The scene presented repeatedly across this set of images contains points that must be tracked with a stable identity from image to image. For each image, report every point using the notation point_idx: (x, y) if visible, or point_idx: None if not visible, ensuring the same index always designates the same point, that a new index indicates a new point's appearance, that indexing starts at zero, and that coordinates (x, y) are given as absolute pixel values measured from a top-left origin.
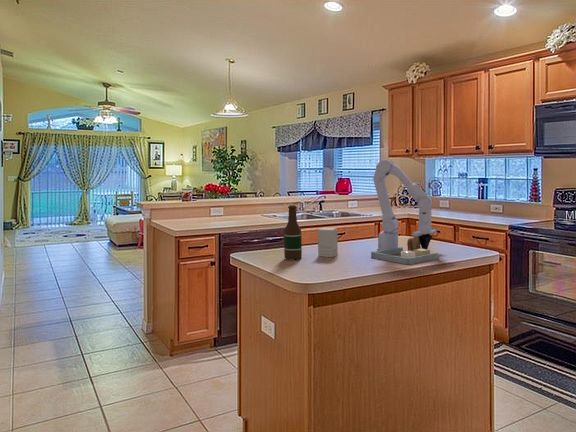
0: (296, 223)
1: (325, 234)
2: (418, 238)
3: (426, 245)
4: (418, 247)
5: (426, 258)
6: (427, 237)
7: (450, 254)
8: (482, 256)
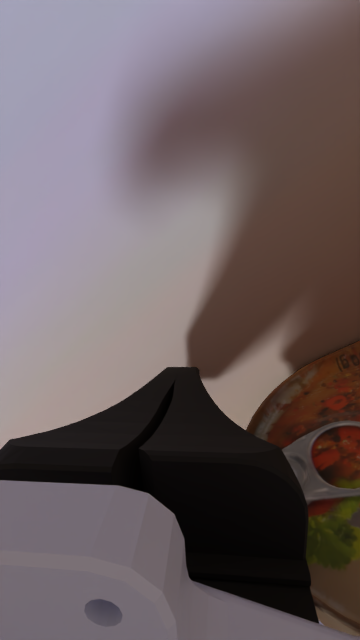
0: None
1: None
2: (322, 592)
3: (194, 389)
4: (325, 422)
5: None
6: (234, 450)
7: (21, 86)
8: None
